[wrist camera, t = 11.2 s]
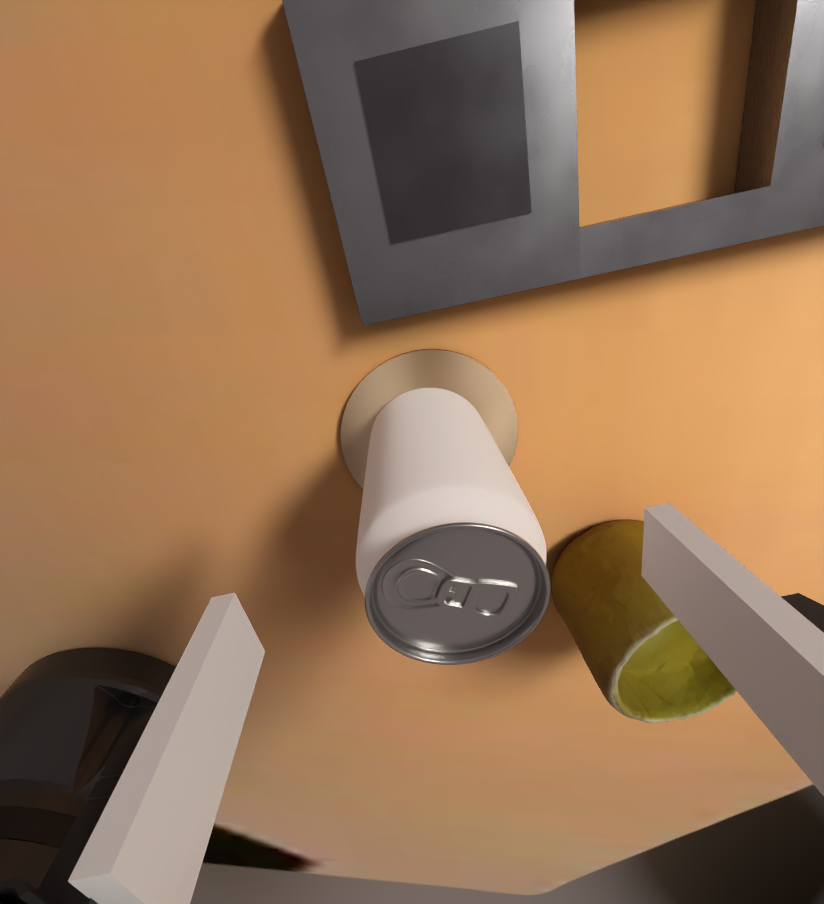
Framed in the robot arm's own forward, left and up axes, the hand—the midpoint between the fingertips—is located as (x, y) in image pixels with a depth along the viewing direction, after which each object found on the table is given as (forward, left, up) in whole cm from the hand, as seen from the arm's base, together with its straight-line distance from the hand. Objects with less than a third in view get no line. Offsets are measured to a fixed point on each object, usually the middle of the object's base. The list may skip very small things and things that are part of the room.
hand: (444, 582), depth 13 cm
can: (0, 0, -11) cm, 11 cm away
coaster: (0, 0, -12) cm, 11 cm away
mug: (+12, -13, -12) cm, 22 cm away
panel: (+12, +13, -12) cm, 21 cm away
